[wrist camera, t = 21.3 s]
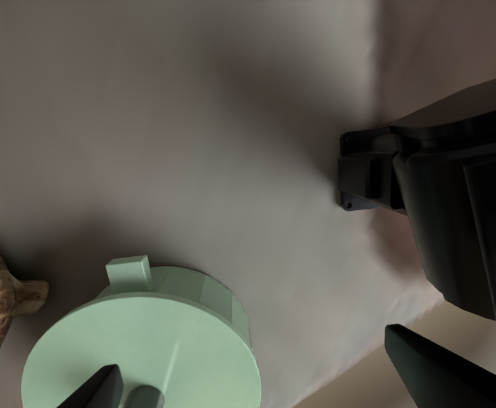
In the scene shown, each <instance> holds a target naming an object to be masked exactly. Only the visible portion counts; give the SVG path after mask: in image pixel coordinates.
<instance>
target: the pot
mask: <svg viewBox="0 0 496 408" xmlns="http://www.w3.org/2000/svg"><path fill="white" fill-rule="evenodd" d="M105 267H106V270H107V274H108V278H109V282H110V285H109V286H107V287H106V288H105V289H104V290H103V291H102V292H101V293H100V294H99V295H98V296H97V297H96V298H95V299H94V300H96V299H99V298H102V297H105V296H109V295H115V294H120V293H128V292H159V293H165V294H172V295H176V296H180V297H183V298H187V299H190V300H193V301H195V302H198V303H200V304H203V305H205V306H207V307H208V308H210V309H212V310H214V311H216V312H217V313H219V314H220V315H221V316H223V317H224V318H225V319H227V320H228V321H229V322H230V323H232V324H233V325H234V326H235V327H236V328H237V329H238V330H239V331H240V333H241V334H242V335H243V337H244V338H245V339H246V340H247V342H248V344H249V345H250V347H251V339H250V331H249V322H248V316H247V315H246V313H245V311H244V310H243V308H242V306H241V304H240V302H239V301H238V300H237V298H236V297H235V296H234V295H233V293H232V292H231V291H229V289H228V288H226V287H225V286H224V285H222V284H221V283H220V282H219V281H217V280H215V279H213V278H212V277H210V276H208V275H205V274H203V273H201V272H198V271H195V270H191V269H187V268H181V267H172V266H162V267H152V268H150V266H149V262H148V257H147V255H142V256H134V257H125V258H117V259H112V260H111V261H110V262H109V263H108V264H107V265H106V266H105ZM251 349H252V348H251Z"/></svg>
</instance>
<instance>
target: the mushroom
mask: <svg viewBox="0 0 496 408" xmlns="http://www.w3.org/2000/svg"><path fill="white" fill-rule="evenodd" d="M48 292H49V285H48V283H47V282H45V281H22V280H17V279H16V278H14V277H13V276H12V275H11V274H10V273H9V271H8V269H7V267H6V265H5V263H4V261H3V260H2V258H1V256H0V347H1V344H2V342H3V340H4V338H5V336H6V334H7V332H8V330H9V328H10V325H11V323H12V321H13V319H14V318H15V317H18V316H25V315H32V314H34V313H35V312H37V311H38V310H39V309H40V308H41V307H42V306H43V305H44V303H45V301H46V299H47V296H48Z"/></svg>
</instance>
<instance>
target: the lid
mask: <svg viewBox="0 0 496 408" xmlns="http://www.w3.org/2000/svg"><path fill="white" fill-rule="evenodd" d="M110 364H118V365H119V368H120V371H121V375H122V379H123V382H124V390H123V394H122V397H121V401H120V404H119V408H259V406H260V400H261V378H260V372H259V367H258V363H257V360H256V358H255V355H254V352H253V351H252V349H251V347H250V345H249V344H248V342H247V340H246V339H245V338H244V337H243V335H242V334H241V333H240V331H239V330H238V329H237V328H236V327H235V326H234V325H233V324H232V323H230V322H229V321H228V320H227V319H225V318H224V317H223V316H221V315H220V314H219V313H217V312H216V311H214V310H212V309H210V308H208V307H207V306H205V305H203V304H200V303H198V302H195V301H193V300H190V299H187V298H183V297H180V296H176V295H172V294H165V293H159V292H128V293H120V294H115V295H109V296H105V297H102V298H99V299H96V300H93V301H90V302H88V303H86V304H84V305H81V306H79V307H77V308H75V309H74V310H72V311H71V312H69V313H67V314H66V315H64V316H63V317H62V318H60V319H59V320H58V321H57V322H56V323H55V324H53V325H52V326H51V327H50V328H49V329H48V330H47V331H46V332H45V333H44V334H43V335H42V337H41V338H40V339H39V340H38V341H37V342H36V344H35V346H34V347H33V349H32V351H31V352H30V354H29V356H28V359H27V361H26V363H25V366H24V369H23V374H22V379H21V397H22V404H23V408H56V407H58V406H59V405H60V404H61V403H62V402H63V401H64V400H65V399H67V398H68V397H69V396H70V395H71V394H72V393H73V392H74V391H76V390H77V389H78V388H79V387H80V386H81V385H82V384H83V383H84V382H86V381H87V380H88V379H89V378H90V377H91V376H92V375H93V374H95V373H96V372H97V371H98V370H99V369H100V368H101V367H103V366H105V365H110Z"/></svg>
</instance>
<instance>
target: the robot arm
mask: <svg viewBox="0 0 496 408" xmlns="http://www.w3.org/2000/svg"><path fill="white" fill-rule="evenodd" d="M388 125H389V128H379V129H370V130H360V131H351V132H345V133H343V134H342V135H341V138H340V152H341V157H340V158H339V160H338V174H339V189H340V190H341V206H342V208H343V209H344V210H346V211H354V210H362V209H370V208H379V207H384V208H387V209H390V210H393V211H396V212H398V213H401V214H404V215H407V216H408V219H409V222H410V225H411V229H412V232H413V236H414V239H415V243H416V246H417V249H418V253H419V256H420V260H421V263H422V266H423V269H424V272H425V275H426V278H427V279H428V280H429V282H430V283H431V284H432V285H433V286H434V287H435V288H436V289H437V290H438V291H439V292H441V293H442V294H443V297H444V299H445V300H446V301H448V302H450V303H452V304H453V305H455V306H457V307H459V308H461V309H463V310H465V311H468V312H471V313H473V314H476V315H479V316H481V317H484V318H487V319H491V320H495V321H496V79H493V80H490V81H487V82H484V83H481V84H478V85H475V86H472V87H469V88H466V89H463V90H461V91H459V92H457V93H454V94H452V95H450V96H448V97H446V98H444V99H441V100H439V101H437V102H435V103H433V104H431V105H428V106H426V107H424V108H422V109H420V110H418V111H415V112H413V113H411V114H409V115H407V116H405V117H402V118H400V119H398V120H396V121H394V122H392V123H390V124H388ZM347 135H348V136H349V141H346V136H347ZM347 203H350V205H349V206H348V207H346V204H347ZM385 349H386V352H387V354H388V356H389V358H390V359H391V361H392V363H393V365H394V366H395V368H396V370H397V372H398V374H399V375H400V377H401V379H402V381H403V382H404V384H405V386H406V388H407V389H408V391H409V393H410V395H411V397H412V398H413V400H414V402H415V403H416V405H417V407H418V408H496V375H495V374H493V373H491V372H489V371H487V370H485V369H483V368H482V367H479V366H478V365H476V364H474V363H472V362H470V361H468V360H466V359H464V358H463V357H461V356H459V355H457V354H455V353H453V352H451V351H449V350H448V349H446V348H444V347H442V346H440V345H438V344H436V343H434V342H432V341H430V340H429V339H426V338H425V337H423V336H421V335H419V334H417V333H415V332H413V331H411V330H410V329H408V328H406V327H404V326H402V325H400V324H391V325H387V326H386V327H385ZM123 390H124V382H123V379H122V375H121V371H120V368H119V365H118V364H110V365H105V366H103V367H101V368H100V369H99V370H98V371H97V372H96V373H95V374H93V375H92V376H91V377H90V378H89V379H88V380H87V381H86V382H84V383H83V384H82V385H81V386H80V387H79V388H78V389H77V390H76V391H74V392H73V393H72V394H71V395H70V396H69V397H68V398H67V399H65V400H64V401H63V402H62V403H61V404H60V405H59V406H58V407H56V408H119V404H120V401H121V397H122V394H123Z"/></svg>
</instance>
